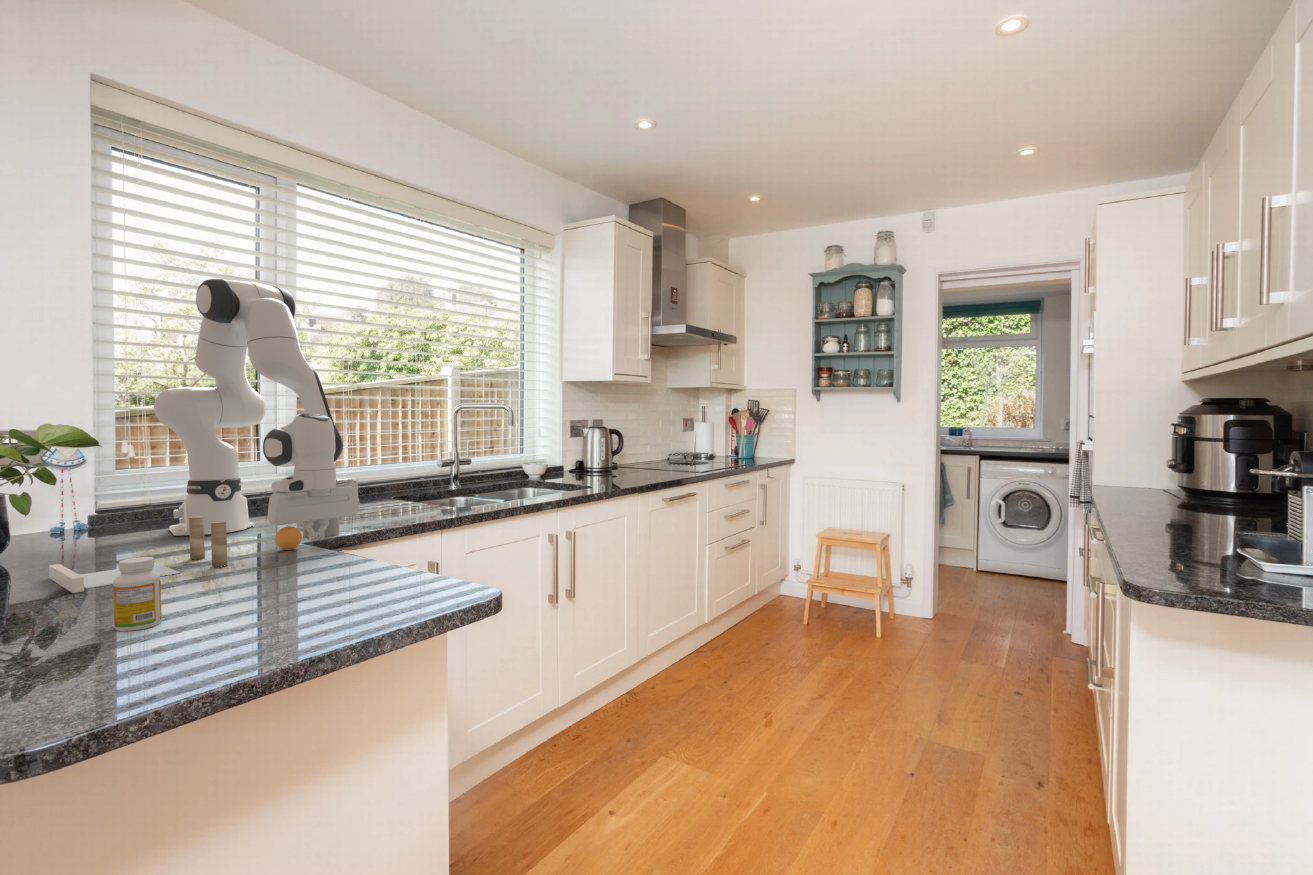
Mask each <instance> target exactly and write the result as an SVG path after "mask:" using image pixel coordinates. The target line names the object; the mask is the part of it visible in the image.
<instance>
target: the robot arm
mask: <svg viewBox="0 0 1313 875" xmlns="http://www.w3.org/2000/svg"><path fill="white" fill-rule="evenodd" d="M195 302H196V303H195V304H196V307H197V310H198V312H199V313H200V315H201V316H202V320H201V323H200V327H199V331H198V338H197V343H196V351H195V357H194V363H195V365H196V367H197V368H198V370H200V371H201V372H202V373H203V374H205V375H207V376H208V377H210V378H213V379H214V380H215V383H214V384H215V385H214V387H213V386H212V387H204V386H201V387H199V386H198V387H197V386H180V387H173V388H167V389H163V390H162V391H161V392H160V393H158V395H157V396H156V398H155V400H154V402H153V411H154V414H155V416H156V418H157V420H158V421H159V422H160V423H161V424H162V425H164V426H165V427H168V428H169V429H170V430H171V431H172V432H174V433H175V434H176V435H177V436H178V437H179V439H180V440H181V441H182V444H183V445H184V448H185V450H186V454H187V460H188V461H187V462H188V470H189V471H188V472H189V475H188V476H189V479H188V481H187V483H186V484H187V485H186V494H187V495H186V497H185V499H184V500H183V502H182V503H181V505H180V506H179V507H178V509H174V510H172V515H173V516H172V517H173V518H174V519H178V524H172V525H169V527H168V530H169V531H170V532H171V534H172V535H173V536H190V534H189V518H190V517H204V536H205V535H211V523H213V522H226V533H232V532H233V533H234V532H238V531H239V532H240V531H243V530H246V529H249V528H252V527H251V526H253V527H255V522H252V521H250V518H249V508H248V499H247V497H246V496H244V495H243V494H242V493H241V492H240V491H242V480H241V477H240V476H239V474H240V473H239V472H240V471H239V452H238V450H237V449H236V447H234V446H233V445H231V444H230V443H228V442H226V441H223V440H221V439H219V438H218V436H217V435H216V431H215V429H230V428H231V429H233V428H235V429H239V428H240V429H241V428H245V427H250V426H256V425H258V424H260V422H262V420H263V419H264V417H265V414H266V410H267V405H266V402H265V400H264V398H263V397H262V395H261V394H260V393H258V392H257V391H256V390H255V389H254V388H253V387H252V386H251V384H250V382H249V381H248V377H247V374H246V367H247V364H246V363H247V354H248V357H249V360H250V363H251V366H252V367H253V369H254V370H256V371H257V372H258V373H259V375H261V376H263V377H264V378H266V379H268V380H270V381H273V382H276V383H278V384H280V385H283V386H284V387H286V388H287V389H290V390H291V391H293V392H294V393H295V394H296V395H297V396H298V398H299V399H300V401H301V403H302V406H303V410H304V412H302V413H298V414H296V415H295V417H294V418H293V420H292V421H290V422H288V423H286V424H285V425H282V426H280V427H277V428H273V429H271V430H269V432H268V433H267V434H266V435H265V437H264V439H263V442H262V451H263V455H264V457H265V459H266V460H267V462H269V463H270V464H271V465H272V466H274V467H279V468H282V467H283V468H285V467H286V468H287V467H294V468H293V474H291V475H288V476H286V477H284V478H281V479H278V480H275V481H273V482H272V483H271V490H272V491H274V492H272V494H271V495H270V496H269V499H268V505H267V506H268V508H267V520H268V522H269V523H270V524H272V525H274V526H285V525H291V524H298V523H302V527H303V526H304V527H305V528H306V530H307V531H308V532H309V538H308V540H310V541H312V540H313V541H315V540H320V539H325V538H326V537H325V533H324V531H325V530H326V528H327V526H328V525H329V519H331V518H339V519H340V518H345V517H353V516H358V514H359V513H360V511H361V506H360V500H359V499H360V498H359V484H358V483H357V481H356V480H353V478H345V479H344V478H343V479H341V478H337V466H336V464H335V462H337V461H338V459H339V458H340V456H342V453H343V449H344V443H343V442H344V441H343V438H342V436H341V434H340V432H339V431H338V429H337V427H336V424H335V422H334V420H333V416H332V413H331V410H330V407H329V404H328V400H327V397H326V395H325V391H324V387H323V385H322V382H321V379H320V377H319V375H318V373H317V371H316V369H315V368H313V367H312V366H310V363H309V362H308V361H307V359H306V358H305V356H304V354H303V352H302V349H301V346H300V342H299V337H298V332H297V328H296V325H295V321H294V319H295V316H296V313H297V303H296V300H295V298H294V295H293V294H292V293H291V292H290V291H288V290H286V289H284V288H281V287H278V286H274V285H273V286H271V285H267V284H262V283H259V282H253V281H241V280H240V281H239V280H226V279H222V278H212V279H211V278H210V279H205V280H203V281H202V283H201V284H200V285H198V288H197V290H196V294H195ZM316 520H319V523H321V525H320V528H319V530H318V531H314V530H313V528H312V527H311V526H313V525H314V521H316Z"/></svg>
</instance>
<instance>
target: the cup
mask: <svg viewBox="0 0 1313 875" xmlns="http://www.w3.org/2000/svg"><path fill="white" fill-rule="evenodd" d="M320 525H321V523H319V520H316V521H314V525H313V526H311V527H312V528H313V530H314V531H318V530H319V528H320ZM324 533H325V537H324V538H329V537H335V536H339V534H340V517H339V518H331V519H329V525H328V526H327V528H326V530H325V531H324ZM302 538H305V539H306V538H308V539H309V532H308V531H307V530H306V528H305V527H304V526H303V525H302Z"/></svg>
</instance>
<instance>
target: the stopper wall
mask: <svg viewBox="0 0 1313 875" xmlns="http://www.w3.org/2000/svg"><path fill="white" fill-rule="evenodd" d="M48 570H49V571H48V572H49V579H50V580H51V581H53V582H55V583H56V584H58V585H59V586H61V587H62V588H64V589H65V590H67V591H69V592H70V593H71V594H75V593H83V592H85V587H84V577H82V576H81V574H79V573H77V572H75V571H73V570H72V569H69V568H68V567H66V566H65V565H62V564H61V563H56V564H49V565H48Z"/></svg>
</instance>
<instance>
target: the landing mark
mask: <svg viewBox="0 0 1313 875" xmlns="http://www.w3.org/2000/svg"><path fill="white" fill-rule="evenodd" d="M152 571H155V572H157V573H159V575H160V576H161V577H166V576H165V575H168V576H172V574H174V575H179V573H180V574H181V572H180V571H178V570H175V569H173V568H171V567H168V566H165V565H162V564H160V563H156V562H154V568H152ZM80 575H81V576H82V577H84V589H93V588H94V589H95V588H100V587H105V586H113V581H114V579H115V578H116V577H118V576H120V575H121V572H119V568H117V569H115V568H114V569H108V570H102V571H95V572H87V573H82V574H80Z"/></svg>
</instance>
